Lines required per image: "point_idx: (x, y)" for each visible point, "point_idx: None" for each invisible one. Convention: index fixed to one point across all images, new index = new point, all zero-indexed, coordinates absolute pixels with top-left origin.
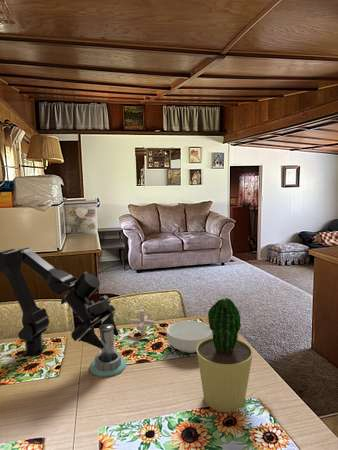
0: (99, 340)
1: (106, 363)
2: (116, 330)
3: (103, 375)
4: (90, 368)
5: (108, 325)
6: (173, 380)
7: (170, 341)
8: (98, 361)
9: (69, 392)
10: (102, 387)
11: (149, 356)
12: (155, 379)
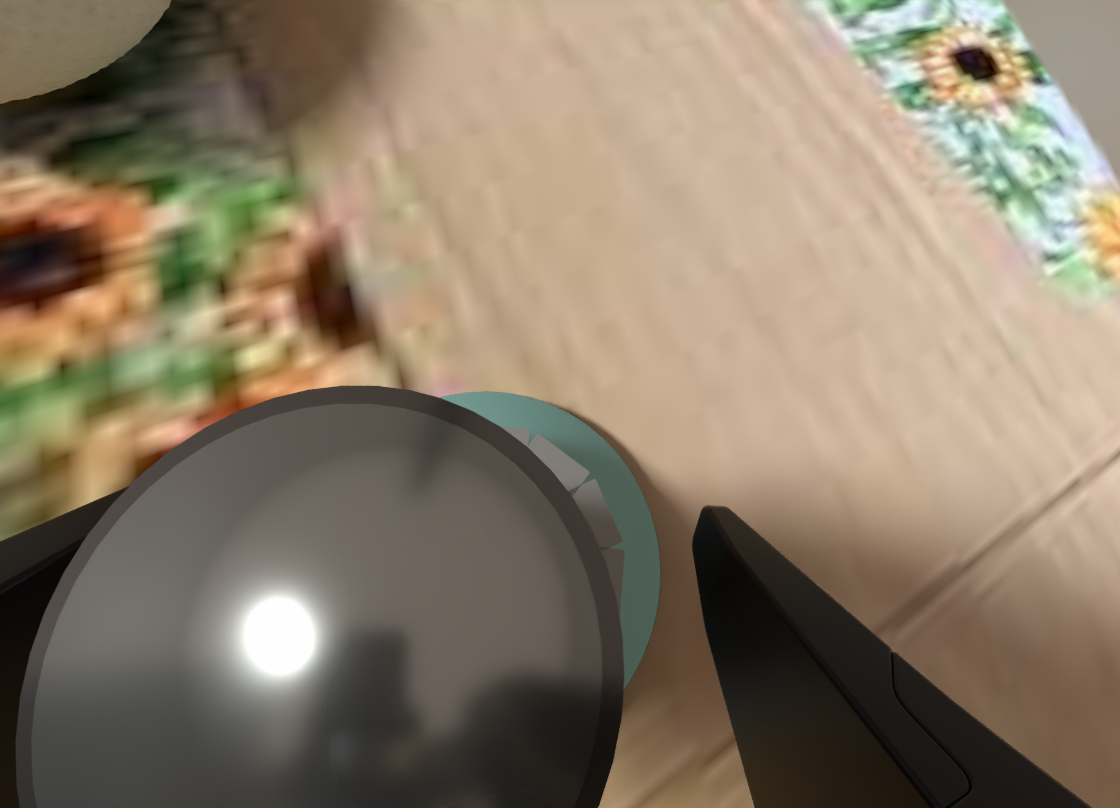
0: (792, 602)
1: (602, 517)
2: (103, 514)
3: (649, 523)
4: None
5: (198, 643)
6: (534, 45)
7: (81, 12)
8: None
9: None
10: (770, 460)
11: (244, 269)
12: (556, 144)
